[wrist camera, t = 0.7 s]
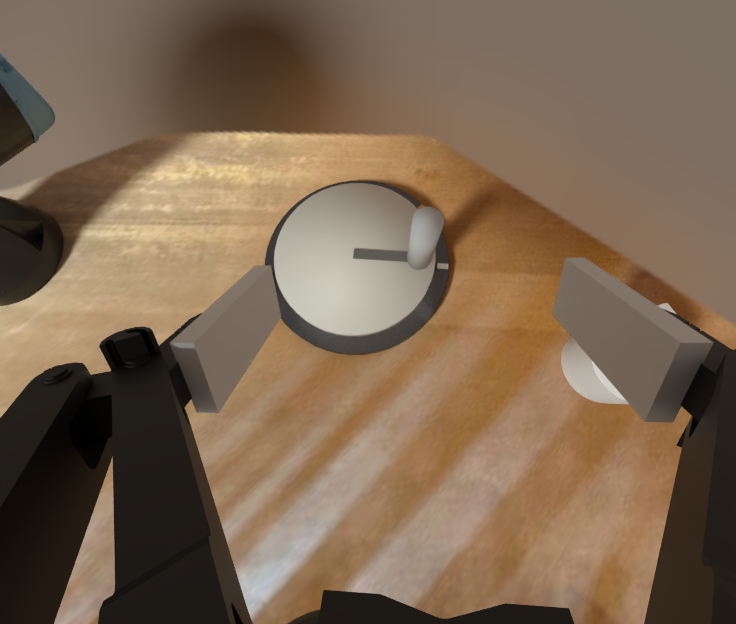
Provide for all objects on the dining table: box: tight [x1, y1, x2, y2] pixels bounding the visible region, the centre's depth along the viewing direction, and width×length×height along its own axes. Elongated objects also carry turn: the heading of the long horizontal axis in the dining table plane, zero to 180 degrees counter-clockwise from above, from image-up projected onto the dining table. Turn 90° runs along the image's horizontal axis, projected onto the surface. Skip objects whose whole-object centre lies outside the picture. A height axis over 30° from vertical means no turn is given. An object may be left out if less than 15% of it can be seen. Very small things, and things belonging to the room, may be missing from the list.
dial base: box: [265, 181, 449, 355], centre depth 44 cm, size 24×24×2 cm
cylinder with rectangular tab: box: [561, 303, 676, 404], centre depth 34 cm, size 9×9×12 cm
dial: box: [274, 183, 444, 337], centre depth 37 cm, size 20×20×11 cm
